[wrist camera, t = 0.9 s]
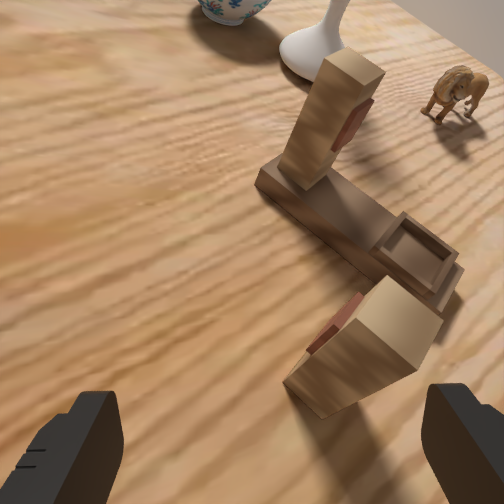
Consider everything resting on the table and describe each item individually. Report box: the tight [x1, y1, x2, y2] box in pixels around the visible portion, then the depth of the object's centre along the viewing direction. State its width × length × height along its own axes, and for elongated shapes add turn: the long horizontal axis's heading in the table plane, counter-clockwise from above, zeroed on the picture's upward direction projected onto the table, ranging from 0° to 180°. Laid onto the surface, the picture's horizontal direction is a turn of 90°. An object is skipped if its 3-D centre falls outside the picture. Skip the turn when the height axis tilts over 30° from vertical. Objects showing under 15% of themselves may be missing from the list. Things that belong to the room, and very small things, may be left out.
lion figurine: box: [421, 65, 489, 125], centre depth 58 cm, size 15×5×9 cm, turn 130°
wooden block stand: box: [254, 47, 465, 315], centre depth 36 cm, size 22×7×14 cm, turn 50°
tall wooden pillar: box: [283, 275, 444, 419], centre depth 26 cm, size 4×4×12 cm
